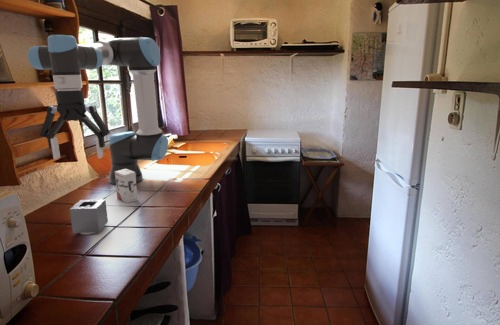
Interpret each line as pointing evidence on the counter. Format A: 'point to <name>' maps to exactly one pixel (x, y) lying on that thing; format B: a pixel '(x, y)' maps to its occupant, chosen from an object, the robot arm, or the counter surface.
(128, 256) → the counter surface
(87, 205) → the hub
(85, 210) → the block
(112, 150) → the robot arm
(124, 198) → the ink box
